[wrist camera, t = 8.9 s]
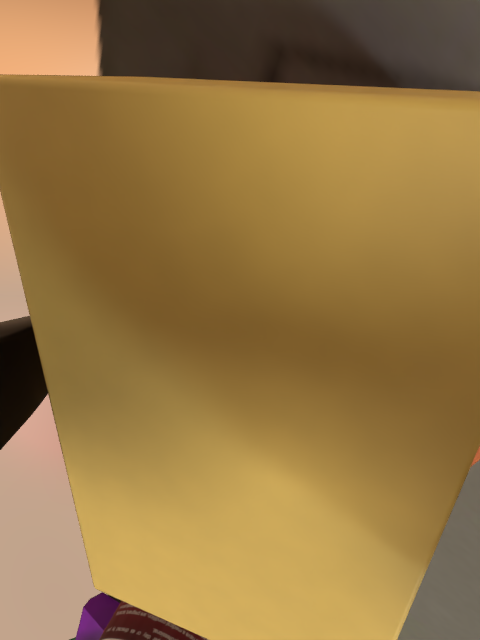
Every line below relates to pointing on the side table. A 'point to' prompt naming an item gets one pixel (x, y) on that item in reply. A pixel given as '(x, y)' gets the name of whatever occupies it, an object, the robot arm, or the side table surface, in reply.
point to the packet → (253, 337)
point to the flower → (96, 617)
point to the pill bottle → (143, 626)
